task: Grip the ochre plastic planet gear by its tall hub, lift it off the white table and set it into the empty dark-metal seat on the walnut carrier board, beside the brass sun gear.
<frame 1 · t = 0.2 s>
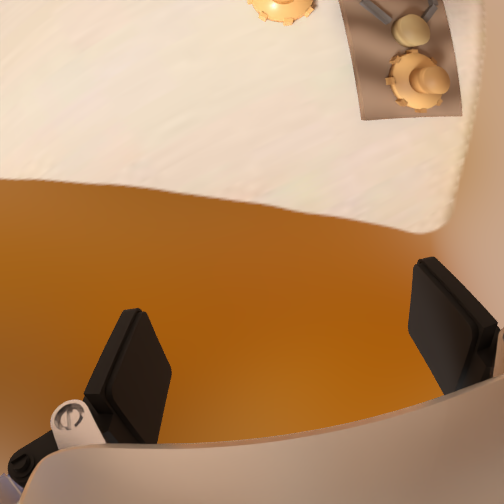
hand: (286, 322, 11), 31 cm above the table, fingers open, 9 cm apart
carrier: (398, 29, 31), on the table
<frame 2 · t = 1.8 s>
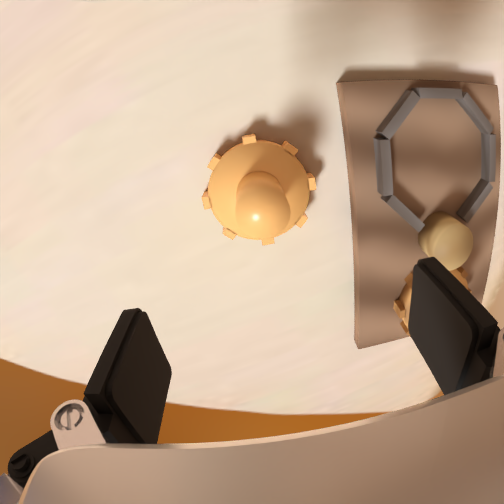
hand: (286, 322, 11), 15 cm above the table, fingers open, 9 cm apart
planet gear: (258, 187, 24), on the table
carrier: (429, 218, 26), on the table
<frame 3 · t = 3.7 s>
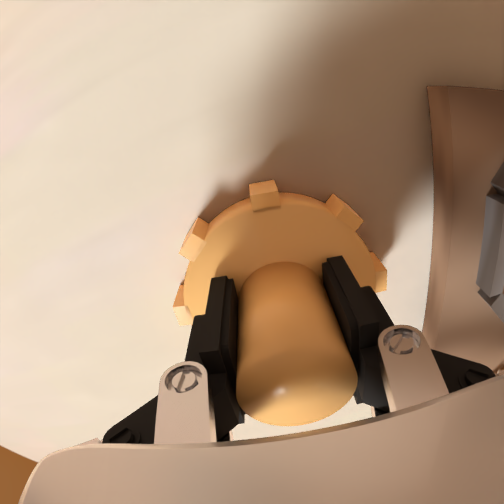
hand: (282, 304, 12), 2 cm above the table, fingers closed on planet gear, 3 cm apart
planet gear: (278, 278, 13), on the table, touching gripper
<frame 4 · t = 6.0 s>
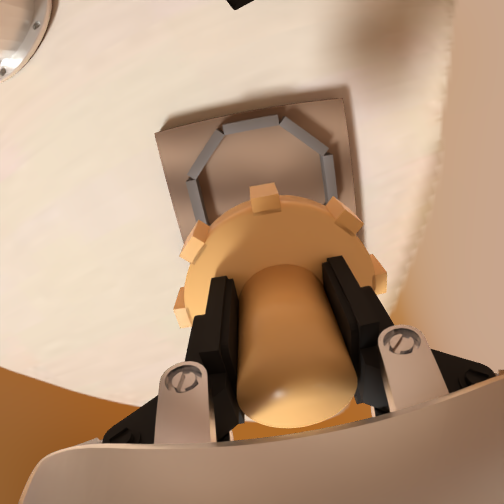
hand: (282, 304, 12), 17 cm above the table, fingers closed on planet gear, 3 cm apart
planet gear: (278, 281, 13), point 16 cm above the table, touching gripper
carrier: (273, 244, 30), on the table
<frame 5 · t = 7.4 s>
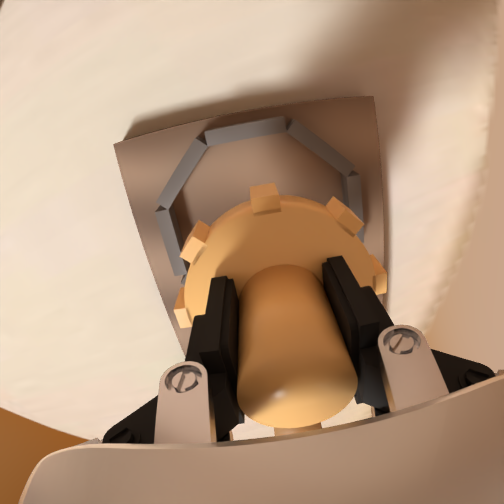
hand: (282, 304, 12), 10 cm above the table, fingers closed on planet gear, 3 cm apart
planet gear: (278, 281, 13), point 8 cm above the table, touching gripper
carrier: (274, 287, 23), on the table
when the fingers open (5 cm above the table, at t = 8.6 s): planet gear drops 1 cm, resting on carrier.
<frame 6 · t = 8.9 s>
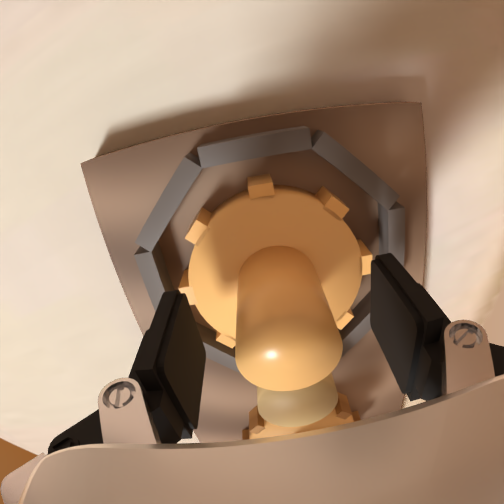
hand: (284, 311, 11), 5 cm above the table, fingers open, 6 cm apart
planet gear: (274, 263, 15), point 1 cm above the table, touching carrier
carrier: (287, 336, 18), on the table
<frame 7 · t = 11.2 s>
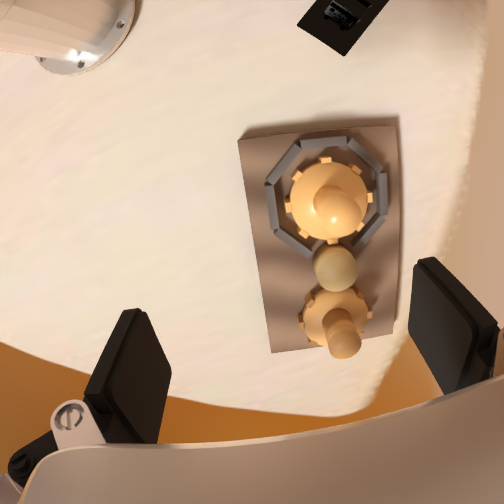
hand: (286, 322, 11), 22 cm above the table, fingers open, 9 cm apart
planet gear: (326, 197, 30), point 1 cm above the table, touching carrier
carrier: (328, 246, 33), on the table
black slotted bracket: (343, 11, 24), on the table
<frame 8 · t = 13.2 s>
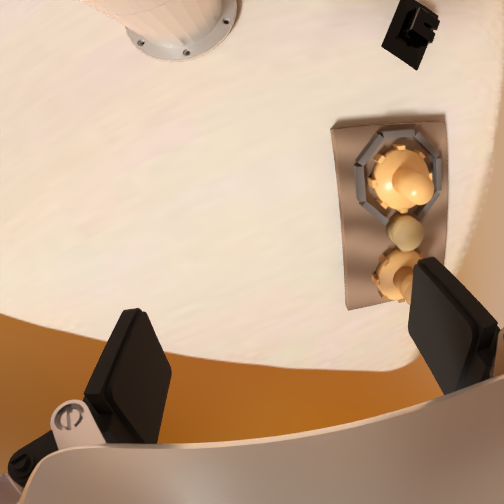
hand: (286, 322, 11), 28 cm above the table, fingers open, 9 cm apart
planet gear: (398, 177, 35), point 1 cm above the table, touching carrier
carrier: (395, 216, 39), on the table
black slotted bracket: (408, 31, 29), on the table
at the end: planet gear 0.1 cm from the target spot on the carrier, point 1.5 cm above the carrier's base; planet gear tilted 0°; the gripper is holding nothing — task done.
